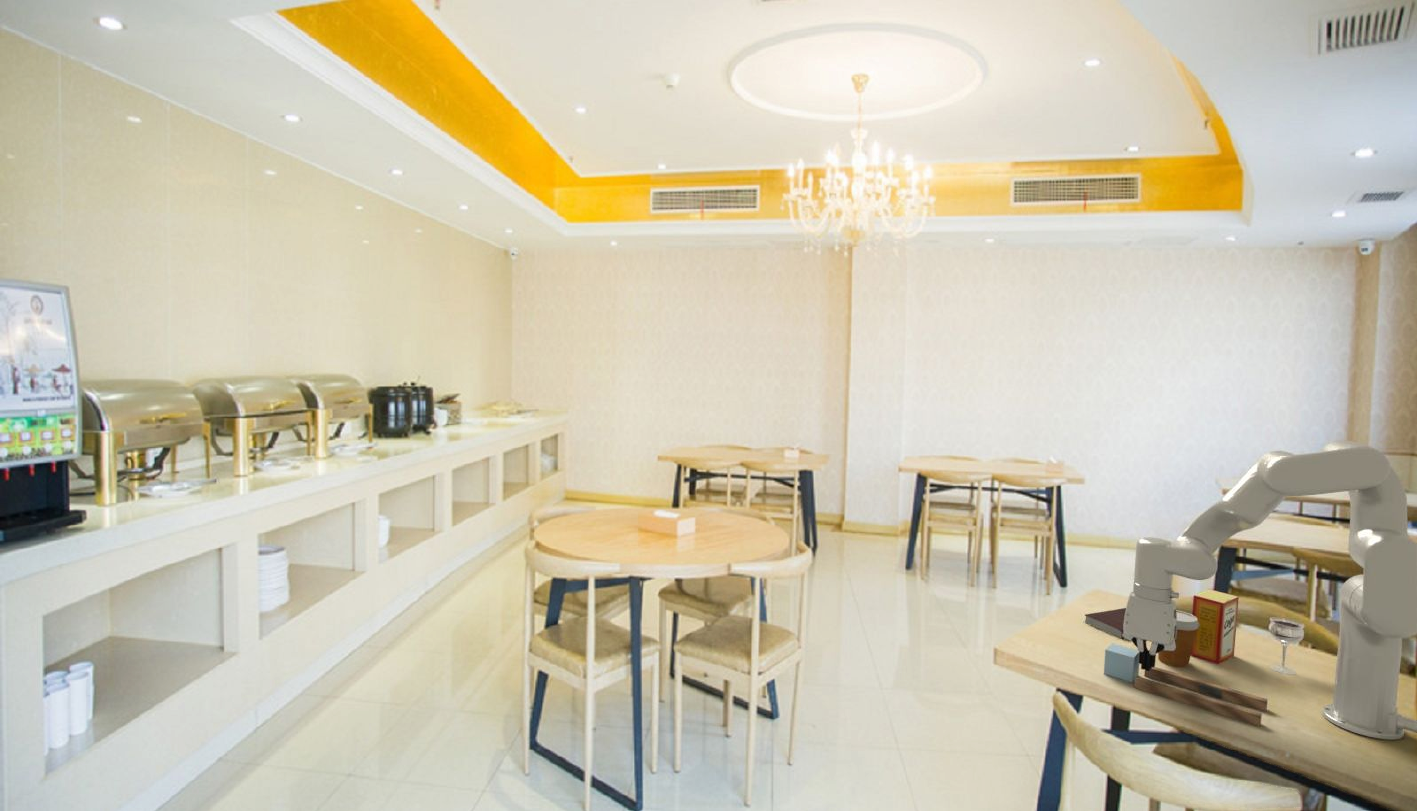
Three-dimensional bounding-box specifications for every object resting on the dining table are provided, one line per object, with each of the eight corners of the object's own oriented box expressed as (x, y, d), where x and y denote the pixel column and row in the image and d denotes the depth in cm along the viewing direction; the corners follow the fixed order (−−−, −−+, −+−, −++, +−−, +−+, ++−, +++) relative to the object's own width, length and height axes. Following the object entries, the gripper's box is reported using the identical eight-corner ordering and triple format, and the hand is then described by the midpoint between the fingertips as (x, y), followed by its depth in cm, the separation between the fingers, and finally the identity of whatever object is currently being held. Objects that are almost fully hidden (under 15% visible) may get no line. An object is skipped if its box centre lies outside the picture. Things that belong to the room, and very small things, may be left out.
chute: (1266, 708, 154) (1267, 699, 154) (1259, 726, 146) (1260, 716, 146) (1146, 673, 170) (1146, 664, 170) (1134, 687, 162) (1134, 678, 162)
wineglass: (1302, 678, 169) (1307, 630, 168) (1267, 671, 172) (1271, 623, 171) (1298, 668, 174) (1302, 621, 174) (1263, 661, 178) (1267, 615, 177)
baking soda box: (1204, 646, 186) (1209, 587, 185) (1233, 655, 181) (1238, 595, 180) (1189, 654, 181) (1193, 594, 180) (1218, 664, 176) (1223, 601, 175)
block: (1138, 675, 169) (1140, 650, 168) (1132, 682, 165) (1133, 657, 164) (1110, 666, 173) (1112, 643, 173) (1103, 673, 169) (1105, 649, 169)
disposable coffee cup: (1203, 672, 171) (1207, 624, 170) (1160, 667, 173) (1163, 620, 172) (1185, 655, 181) (1189, 610, 180) (1144, 651, 182) (1147, 606, 181)
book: (1173, 632, 197) (1173, 621, 197) (1121, 641, 190) (1122, 629, 190) (1132, 616, 209) (1133, 605, 208) (1082, 623, 202) (1083, 612, 202)
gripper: (1193, 596, 161) (1187, 674, 163) (1120, 580, 172) (1115, 653, 173) (1186, 604, 156) (1180, 684, 157) (1111, 587, 166) (1106, 662, 168)
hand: (1146, 668), depth 165 cm, fingers closed
